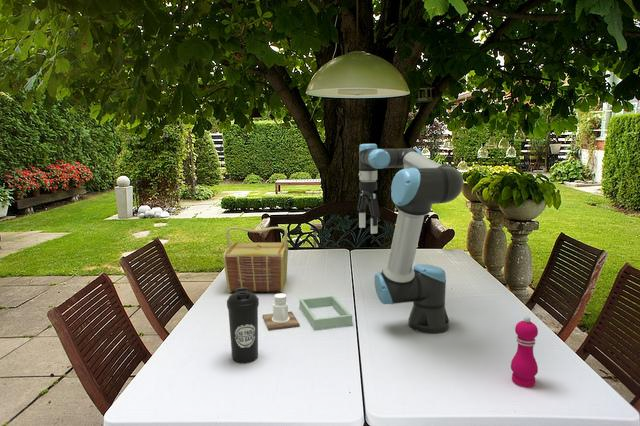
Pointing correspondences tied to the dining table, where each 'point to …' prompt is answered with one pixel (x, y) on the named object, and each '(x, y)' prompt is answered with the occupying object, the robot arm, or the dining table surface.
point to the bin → (327, 322)
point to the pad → (276, 326)
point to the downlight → (280, 309)
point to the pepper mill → (525, 354)
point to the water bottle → (243, 325)
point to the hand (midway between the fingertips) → (368, 230)
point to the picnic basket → (256, 263)
